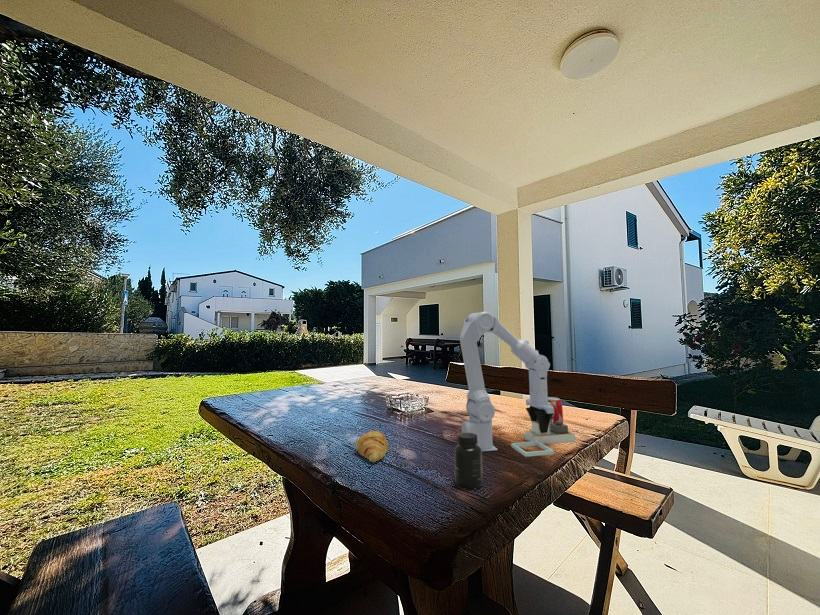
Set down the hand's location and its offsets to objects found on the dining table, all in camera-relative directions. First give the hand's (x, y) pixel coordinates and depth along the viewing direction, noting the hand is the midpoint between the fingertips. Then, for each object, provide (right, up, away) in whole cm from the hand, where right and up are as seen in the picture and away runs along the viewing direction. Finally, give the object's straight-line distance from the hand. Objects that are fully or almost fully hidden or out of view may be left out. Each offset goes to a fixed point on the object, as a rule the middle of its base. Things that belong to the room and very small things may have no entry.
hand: (540, 430), depth 121 cm
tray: (-6, -3, -10) cm, 12 cm away
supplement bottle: (-29, -3, -32) cm, 43 cm away
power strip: (+3, -4, 0) cm, 5 cm away
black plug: (+7, -3, +1) cm, 8 cm away
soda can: (+9, -5, +13) cm, 16 cm away
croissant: (-56, -5, -7) cm, 57 cm away
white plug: (0, -2, 0) cm, 2 cm away
